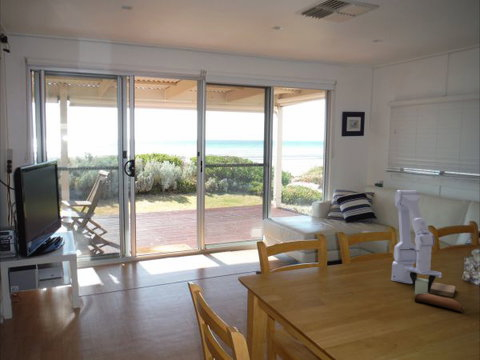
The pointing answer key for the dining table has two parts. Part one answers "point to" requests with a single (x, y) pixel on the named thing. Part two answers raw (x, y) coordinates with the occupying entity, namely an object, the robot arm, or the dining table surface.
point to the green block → (421, 286)
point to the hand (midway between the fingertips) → (421, 290)
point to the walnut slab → (442, 289)
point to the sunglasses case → (439, 301)
